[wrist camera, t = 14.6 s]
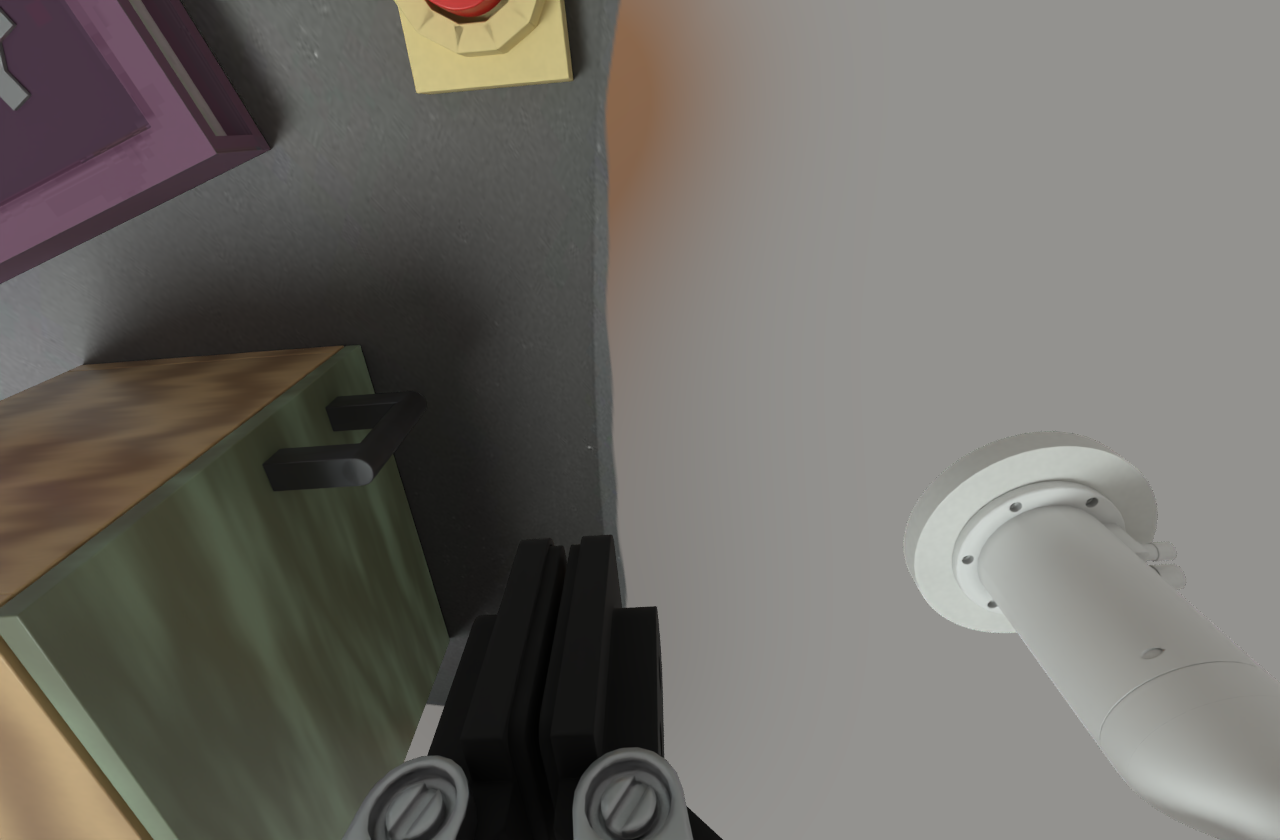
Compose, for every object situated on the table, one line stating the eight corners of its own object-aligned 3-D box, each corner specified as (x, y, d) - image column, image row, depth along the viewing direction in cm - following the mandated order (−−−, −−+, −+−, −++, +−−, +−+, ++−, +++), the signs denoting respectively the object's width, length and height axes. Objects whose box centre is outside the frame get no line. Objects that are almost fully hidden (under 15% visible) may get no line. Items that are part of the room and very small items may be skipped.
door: (439, 338, 39) (188, 606, 18) (512, 637, 51) (413, 1016, 30) (345, 345, 40) (-15, 617, 18) (438, 640, 51) (287, 1019, 30)
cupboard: (343, 345, 40) (-26, 621, 18) (436, 639, 52) (280, 1023, 30) (81, 364, 41) (-575, 651, 19) (231, 650, 52) (-66, 1031, 31)
